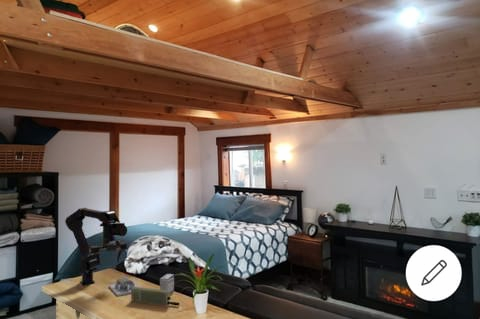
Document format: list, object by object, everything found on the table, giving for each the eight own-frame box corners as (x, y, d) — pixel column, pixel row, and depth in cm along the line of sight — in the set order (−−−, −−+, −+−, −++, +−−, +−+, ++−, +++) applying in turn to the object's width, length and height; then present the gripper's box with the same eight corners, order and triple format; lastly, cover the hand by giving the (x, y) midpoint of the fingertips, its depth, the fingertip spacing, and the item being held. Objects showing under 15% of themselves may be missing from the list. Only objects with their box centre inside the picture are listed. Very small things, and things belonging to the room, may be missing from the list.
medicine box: (168, 296, 173) (168, 278, 173) (159, 295, 174) (159, 278, 174) (174, 290, 181) (174, 274, 181) (166, 290, 182) (166, 273, 182)
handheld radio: (134, 299, 170) (180, 305, 162) (130, 302, 167) (177, 308, 159) (134, 285, 170) (180, 291, 162) (130, 288, 167) (177, 294, 159)
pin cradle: (109, 287, 186) (109, 280, 186) (131, 282, 193) (131, 276, 193) (117, 296, 173) (117, 289, 173) (141, 291, 180) (141, 284, 180)
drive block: (116, 286, 185) (116, 279, 185) (125, 283, 188) (125, 277, 188) (124, 290, 178) (124, 283, 178) (133, 288, 182) (133, 281, 182)
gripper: (93, 239, 176) (93, 270, 176) (130, 235, 187) (130, 264, 187) (88, 235, 186) (88, 265, 185) (124, 231, 196) (123, 259, 196)
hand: (108, 263), depth 188 cm, fingers open, 9 cm apart
